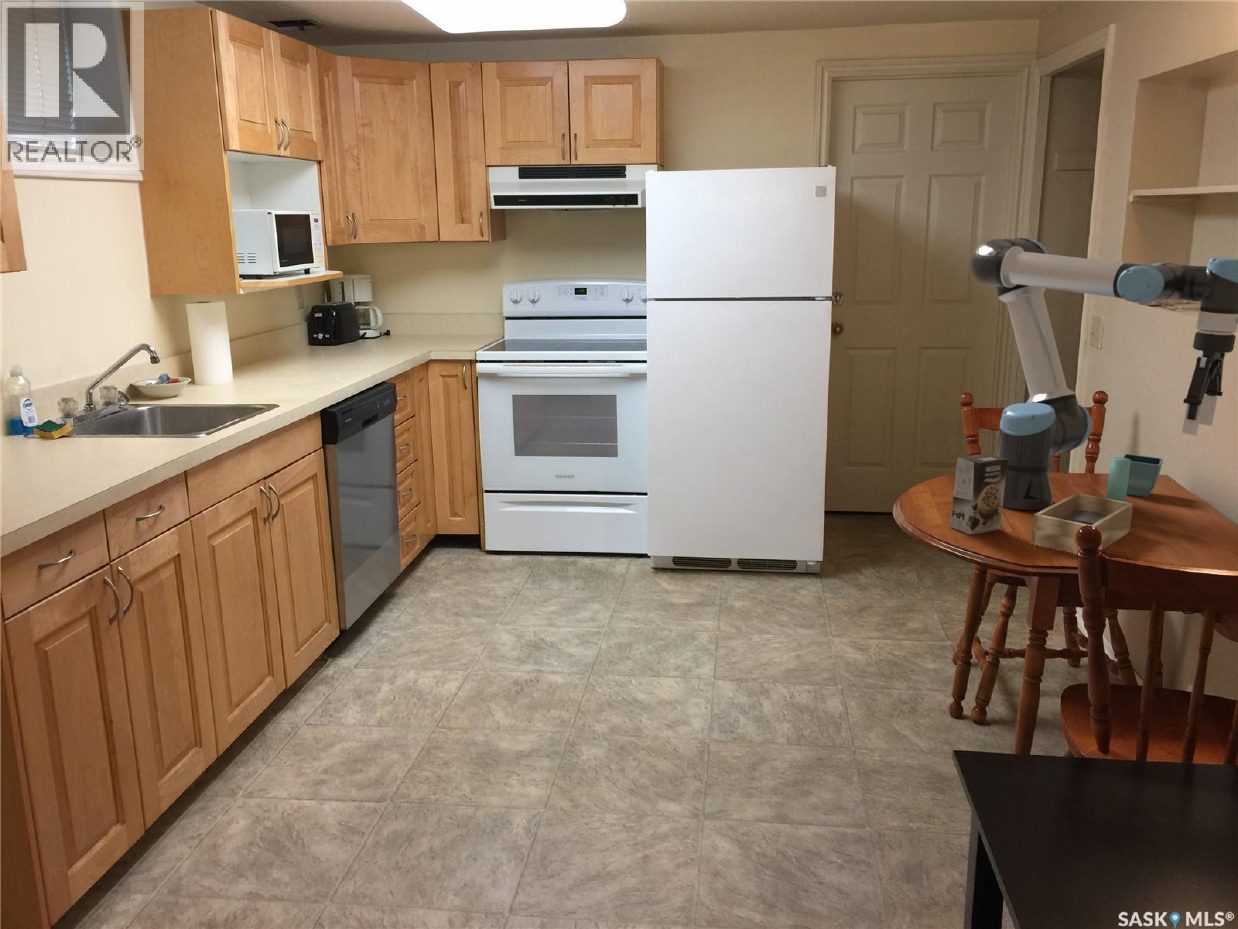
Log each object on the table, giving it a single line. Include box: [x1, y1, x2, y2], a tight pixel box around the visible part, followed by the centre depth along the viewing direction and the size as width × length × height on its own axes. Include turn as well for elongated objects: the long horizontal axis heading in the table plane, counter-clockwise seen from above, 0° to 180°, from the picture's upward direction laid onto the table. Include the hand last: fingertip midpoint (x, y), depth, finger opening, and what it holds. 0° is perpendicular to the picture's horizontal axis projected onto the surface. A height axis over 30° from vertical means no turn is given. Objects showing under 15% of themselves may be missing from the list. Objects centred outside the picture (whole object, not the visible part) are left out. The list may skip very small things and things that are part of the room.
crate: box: [1030, 492, 1134, 556], centre depth 211 cm, size 12×24×6 cm, turn 136°
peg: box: [1105, 456, 1131, 502], centre depth 224 cm, size 4×4×14 cm
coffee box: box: [949, 453, 1008, 535], centre depth 215 cm, size 9×6×16 cm
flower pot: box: [1121, 453, 1164, 498], centre depth 246 cm, size 9×9×9 cm
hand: (1197, 429), depth 216 cm, fingers open, 13 cm apart
